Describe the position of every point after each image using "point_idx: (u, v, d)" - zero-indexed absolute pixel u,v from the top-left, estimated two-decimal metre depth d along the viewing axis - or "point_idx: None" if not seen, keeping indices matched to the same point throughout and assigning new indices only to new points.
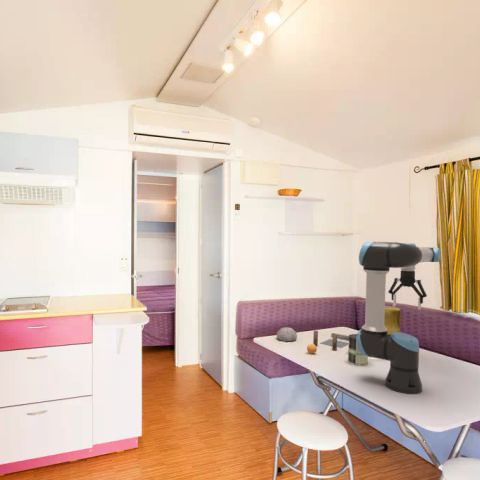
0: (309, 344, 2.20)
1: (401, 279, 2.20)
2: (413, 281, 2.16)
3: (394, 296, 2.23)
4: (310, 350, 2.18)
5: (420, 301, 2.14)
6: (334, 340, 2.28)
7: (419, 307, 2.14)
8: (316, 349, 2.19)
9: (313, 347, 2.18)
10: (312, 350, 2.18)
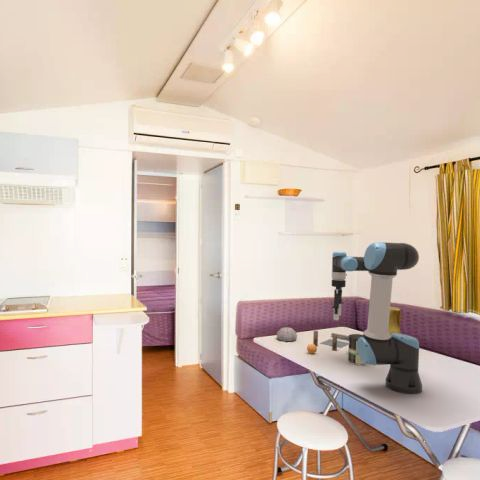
0: (309, 344, 2.20)
1: None
2: None
3: None
4: (310, 350, 2.18)
5: (335, 311, 2.08)
6: (334, 340, 2.28)
7: (333, 317, 2.09)
8: (316, 349, 2.19)
9: (313, 347, 2.18)
10: (312, 350, 2.18)
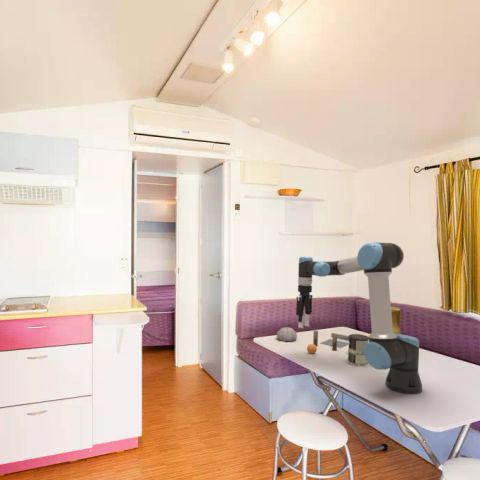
0: (309, 344, 2.20)
1: None
2: None
3: None
4: (310, 350, 2.18)
5: None
6: (334, 340, 2.28)
7: (298, 325, 2.11)
8: (316, 349, 2.19)
9: (313, 347, 2.18)
10: (312, 350, 2.18)
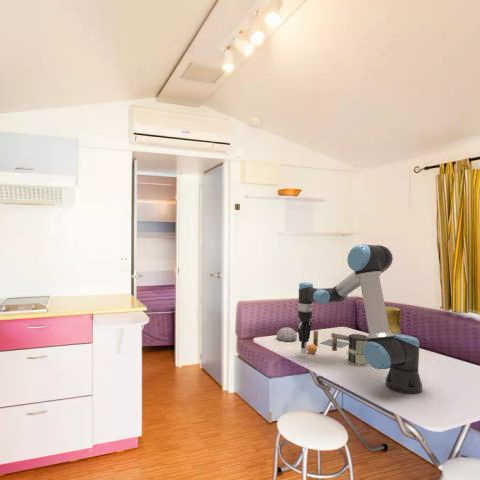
0: (309, 344, 2.20)
1: None
2: None
3: None
4: (310, 350, 2.18)
5: None
6: (334, 340, 2.28)
7: (301, 350, 2.14)
8: (316, 349, 2.19)
9: (313, 347, 2.18)
10: (312, 350, 2.18)
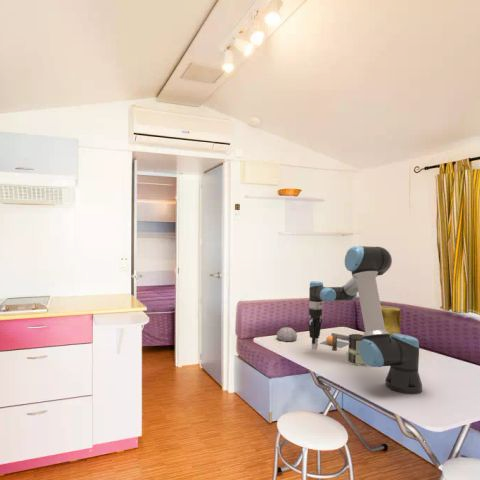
0: None
1: None
2: None
3: None
4: None
5: None
6: (334, 340, 2.28)
7: None
8: None
9: None
10: None
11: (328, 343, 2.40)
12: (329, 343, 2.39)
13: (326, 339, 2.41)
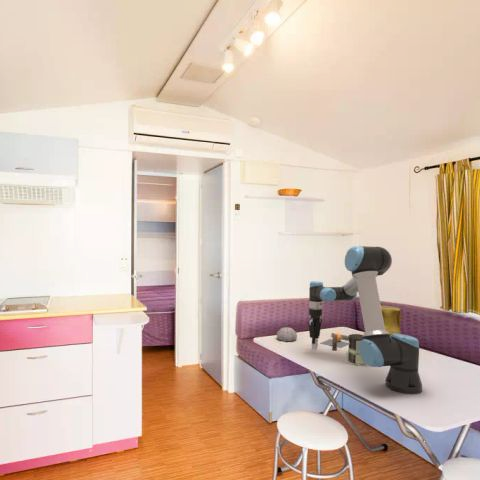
0: (335, 333, 2.49)
1: None
2: None
3: None
4: None
5: None
6: (334, 340, 2.28)
7: None
8: (341, 337, 2.47)
9: (338, 335, 2.46)
10: (338, 338, 2.46)
11: None
12: None
13: None
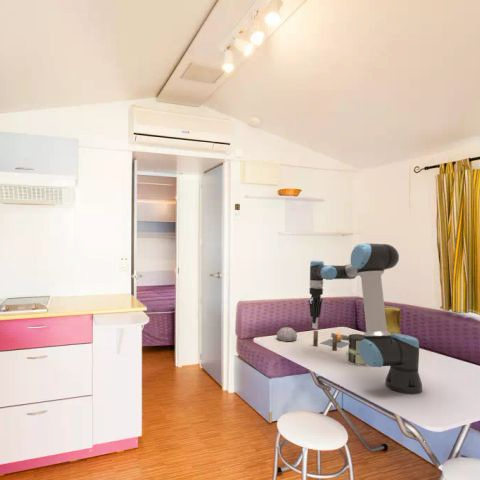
0: (335, 333, 2.49)
1: None
2: None
3: None
4: None
5: (313, 320, 2.22)
6: (334, 340, 2.28)
7: (312, 326, 2.23)
8: (341, 337, 2.47)
9: (338, 335, 2.46)
10: (338, 338, 2.46)
11: None
12: None
13: None
